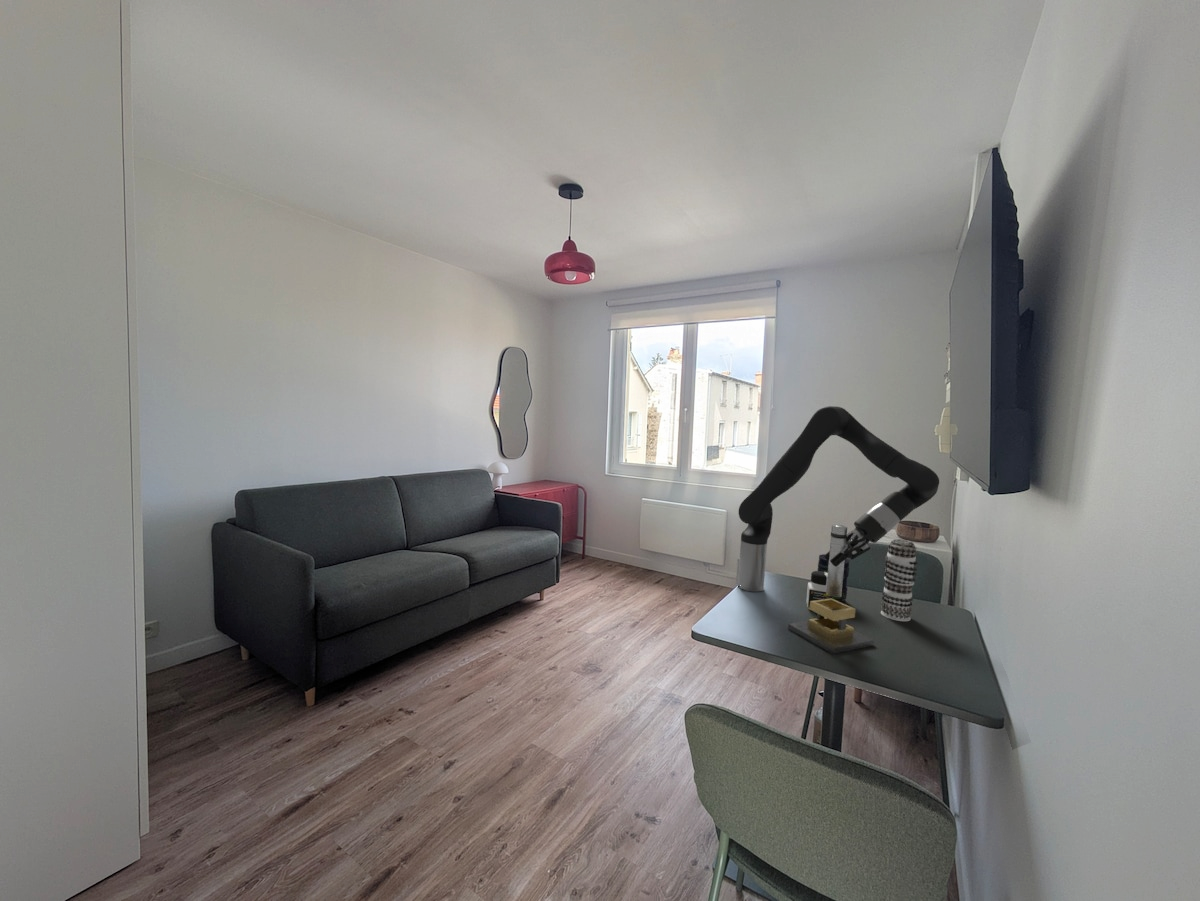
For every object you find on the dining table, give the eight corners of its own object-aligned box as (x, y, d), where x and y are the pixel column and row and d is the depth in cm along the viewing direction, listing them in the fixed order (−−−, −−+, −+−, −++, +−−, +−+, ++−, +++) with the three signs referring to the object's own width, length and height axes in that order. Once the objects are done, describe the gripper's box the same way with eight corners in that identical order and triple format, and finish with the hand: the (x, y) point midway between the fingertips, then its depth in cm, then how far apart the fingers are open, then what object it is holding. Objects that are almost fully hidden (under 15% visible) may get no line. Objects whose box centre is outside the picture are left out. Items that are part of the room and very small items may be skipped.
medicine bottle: (807, 609, 163) (810, 574, 162) (806, 602, 170) (809, 568, 169) (831, 613, 161) (834, 577, 160) (828, 605, 167) (831, 571, 167)
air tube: (822, 592, 143) (828, 524, 141) (833, 591, 145) (838, 524, 143) (834, 598, 139) (840, 528, 138) (845, 596, 141) (851, 527, 139)
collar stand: (788, 628, 147) (790, 597, 146) (827, 622, 153) (830, 592, 153) (832, 653, 132) (835, 619, 132) (873, 645, 139) (877, 612, 138)
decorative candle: (902, 611, 165) (910, 538, 164) (917, 623, 156) (925, 545, 154) (874, 609, 166) (881, 536, 164) (887, 620, 157) (895, 543, 155)
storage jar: (847, 599, 174) (851, 558, 173) (844, 607, 166) (848, 564, 165) (817, 592, 180) (820, 552, 179) (812, 600, 171) (816, 558, 170)
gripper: (856, 508, 147) (811, 545, 148) (880, 517, 133) (830, 559, 134) (873, 526, 147) (828, 563, 148) (899, 538, 133) (848, 579, 134)
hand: (829, 561), depth 141 cm, fingers closed on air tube, 4 cm apart
